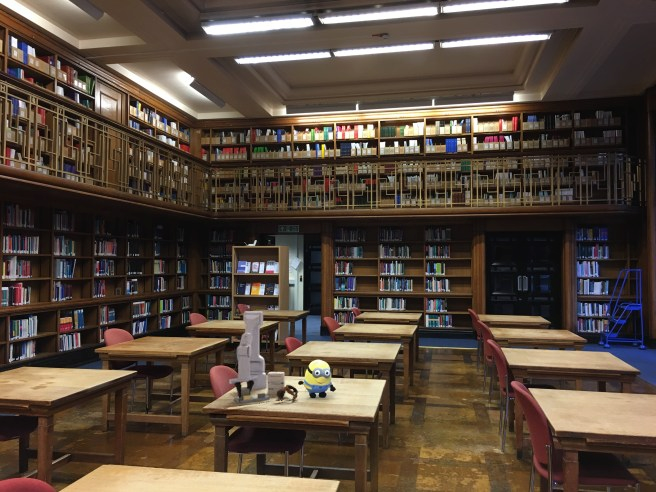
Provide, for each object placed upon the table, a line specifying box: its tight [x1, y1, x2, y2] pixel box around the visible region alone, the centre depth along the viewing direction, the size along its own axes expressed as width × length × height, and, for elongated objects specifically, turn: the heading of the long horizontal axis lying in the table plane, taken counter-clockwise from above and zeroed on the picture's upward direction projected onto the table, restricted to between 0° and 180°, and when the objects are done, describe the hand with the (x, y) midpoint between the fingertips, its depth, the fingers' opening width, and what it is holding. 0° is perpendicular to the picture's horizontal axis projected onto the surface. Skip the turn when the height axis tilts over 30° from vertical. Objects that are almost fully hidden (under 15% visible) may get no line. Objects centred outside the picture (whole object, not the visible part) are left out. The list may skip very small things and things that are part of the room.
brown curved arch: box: [276, 384, 299, 402], centre depth 255 cm, size 12×10×8 cm
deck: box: [229, 392, 239, 398], centre depth 261 cm, size 8×8×1 cm
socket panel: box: [233, 393, 271, 407], centre depth 251 cm, size 16×8×2 cm, turn 117°
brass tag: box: [243, 394, 252, 400], centre depth 247 cm, size 4×1×2 cm, turn 117°
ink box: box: [266, 371, 286, 395], centre depth 265 cm, size 9×5×12 cm, turn 84°
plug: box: [238, 386, 249, 400], centre depth 251 cm, size 4×5×6 cm
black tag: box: [257, 392, 266, 398], centre depth 250 cm, size 4×1×2 cm, turn 117°
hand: (244, 396), depth 251 cm, fingers closed on plug, 4 cm apart
